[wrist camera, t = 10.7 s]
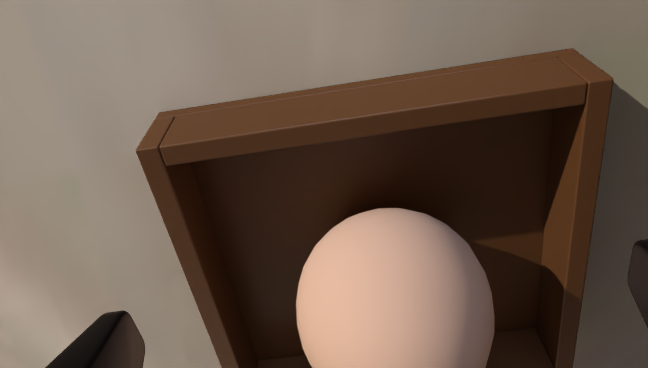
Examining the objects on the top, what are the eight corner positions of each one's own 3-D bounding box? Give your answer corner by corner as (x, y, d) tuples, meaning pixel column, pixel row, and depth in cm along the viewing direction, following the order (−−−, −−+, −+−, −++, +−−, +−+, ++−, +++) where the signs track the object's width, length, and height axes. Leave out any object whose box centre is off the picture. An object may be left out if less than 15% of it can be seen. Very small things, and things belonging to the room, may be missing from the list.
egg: (485, 267, 24) (559, 441, 17) (343, 320, 25) (355, 500, 18) (427, 142, 20) (488, 295, 13) (267, 213, 22) (245, 383, 15)
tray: (573, 47, 19) (614, 78, 16) (546, 326, 27) (571, 378, 24) (158, 111, 20) (134, 150, 17) (247, 362, 28) (240, 414, 25)
